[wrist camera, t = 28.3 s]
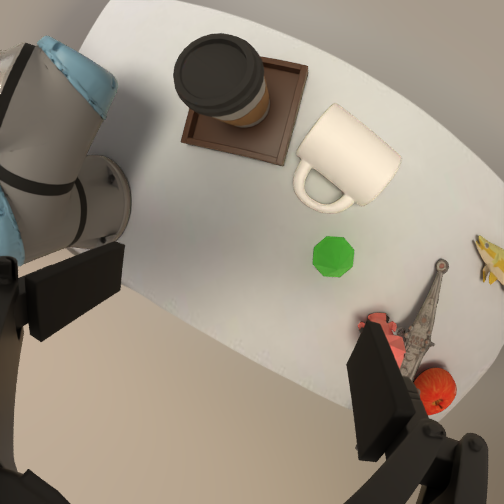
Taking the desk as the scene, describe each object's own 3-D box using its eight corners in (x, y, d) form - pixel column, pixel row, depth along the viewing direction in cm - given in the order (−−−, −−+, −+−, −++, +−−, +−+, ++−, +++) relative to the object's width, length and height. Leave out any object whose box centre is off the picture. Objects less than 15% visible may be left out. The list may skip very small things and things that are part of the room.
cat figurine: (373, 352, 42) (388, 402, 31) (339, 331, 42) (346, 380, 31) (402, 317, 40) (428, 360, 28) (368, 293, 40) (388, 334, 29)
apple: (442, 351, 40) (460, 379, 32) (450, 383, 41) (465, 411, 33) (400, 373, 42) (412, 404, 34) (411, 403, 43) (421, 434, 35)
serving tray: (188, 144, 40) (180, 142, 37) (213, 56, 36) (207, 49, 34) (283, 166, 39) (281, 165, 36) (308, 73, 35) (308, 65, 32)
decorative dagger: (425, 258, 40) (347, 440, 38) (420, 253, 39) (339, 442, 37) (467, 267, 35) (383, 462, 32) (464, 262, 33) (376, 465, 31)
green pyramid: (305, 243, 40) (304, 254, 35) (347, 229, 39) (354, 237, 33) (319, 283, 41) (320, 300, 36) (360, 270, 40) (368, 284, 34)
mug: (332, 110, 36) (338, 94, 28) (391, 158, 36) (410, 154, 28) (277, 180, 39) (270, 180, 31) (337, 227, 39) (344, 239, 32)
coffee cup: (244, 66, 35) (211, 15, 21) (291, 102, 36) (281, 60, 21) (203, 110, 38) (151, 80, 23) (248, 148, 38) (213, 131, 24)
